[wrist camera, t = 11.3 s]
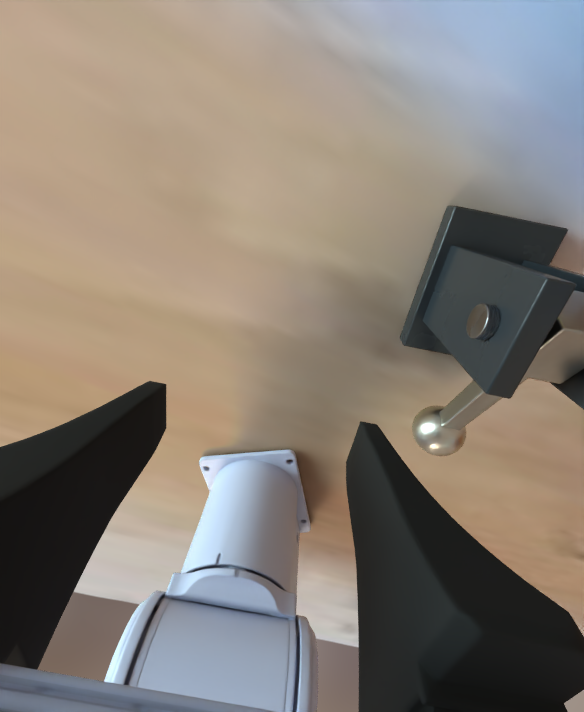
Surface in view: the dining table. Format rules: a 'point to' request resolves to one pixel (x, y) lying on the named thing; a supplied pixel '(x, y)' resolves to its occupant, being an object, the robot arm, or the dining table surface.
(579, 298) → the tap lever
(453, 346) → the dark grey lever bracket
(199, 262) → the dining table surface
